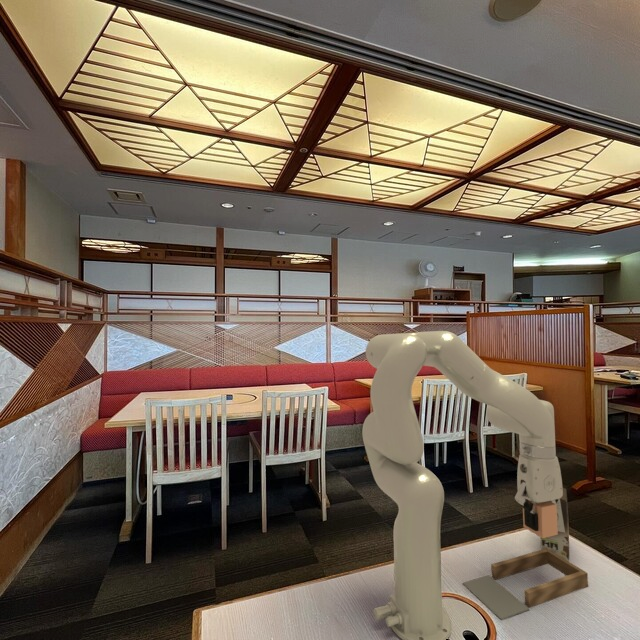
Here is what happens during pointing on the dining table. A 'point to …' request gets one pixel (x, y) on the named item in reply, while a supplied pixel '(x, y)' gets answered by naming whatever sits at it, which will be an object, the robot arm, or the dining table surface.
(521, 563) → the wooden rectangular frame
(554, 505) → the block
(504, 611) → the mat
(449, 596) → the dining table surface
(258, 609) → the dining table surface
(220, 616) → the dining table surface
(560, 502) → the coffee box
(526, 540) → the dining table surface
